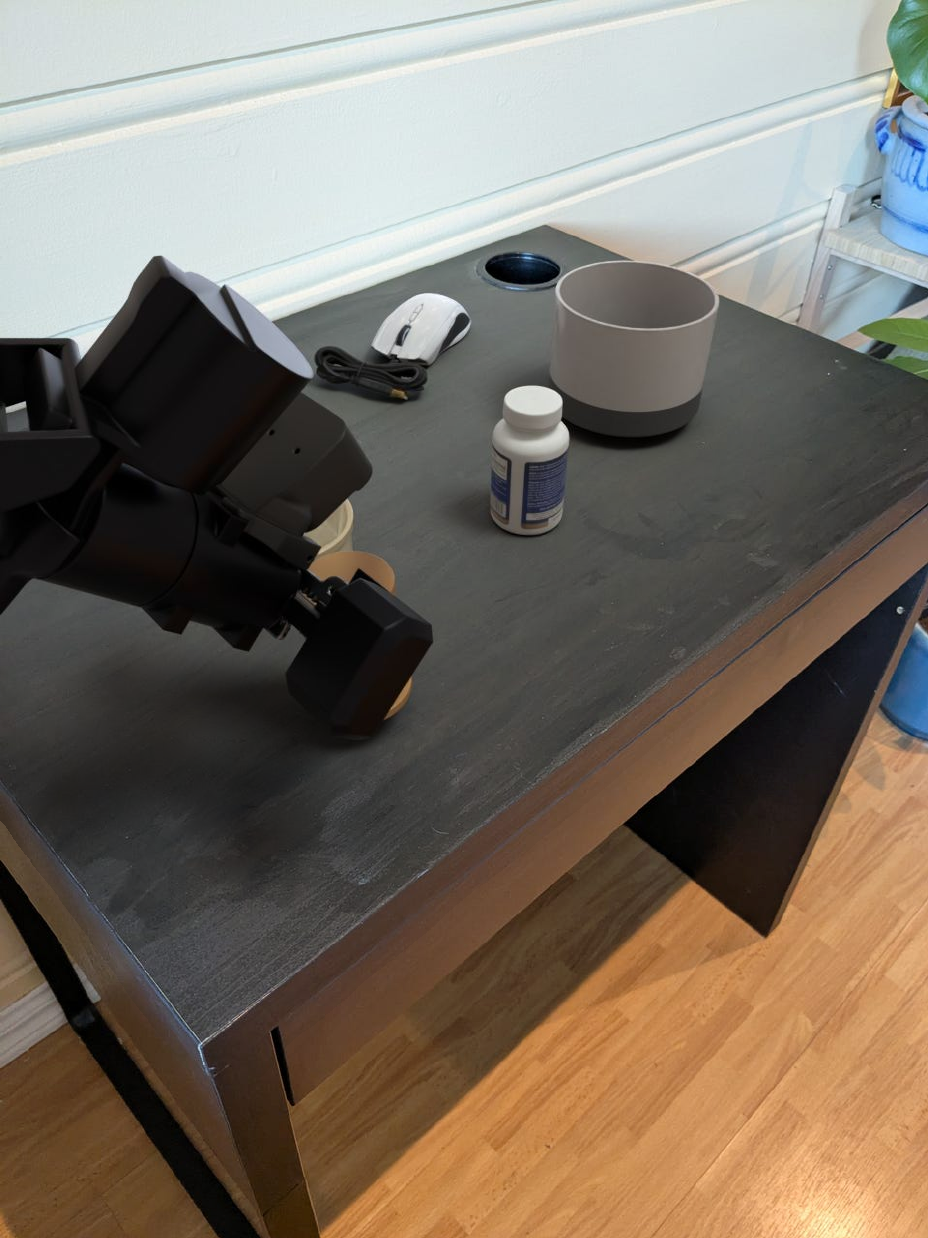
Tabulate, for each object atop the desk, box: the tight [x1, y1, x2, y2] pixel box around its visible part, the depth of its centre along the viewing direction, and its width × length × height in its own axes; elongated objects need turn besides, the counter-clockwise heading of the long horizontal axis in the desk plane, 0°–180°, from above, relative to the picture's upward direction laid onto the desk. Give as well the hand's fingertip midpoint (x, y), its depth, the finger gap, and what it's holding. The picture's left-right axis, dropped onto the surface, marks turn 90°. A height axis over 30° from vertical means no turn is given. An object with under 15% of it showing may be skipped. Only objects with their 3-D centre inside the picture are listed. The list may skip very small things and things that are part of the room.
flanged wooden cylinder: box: [300, 550, 413, 721], centre depth 53 cm, size 6×6×8 cm
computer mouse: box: [313, 292, 472, 401], centre depth 89 cm, size 10×18×4 cm, turn 156°
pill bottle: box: [490, 385, 570, 536], centre depth 68 cm, size 5×5×10 cm
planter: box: [547, 260, 720, 438], centre depth 79 cm, size 13×13×10 cm
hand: (371, 616), depth 53 cm, fingers closed on flanged wooden cylinder, 5 cm apart
